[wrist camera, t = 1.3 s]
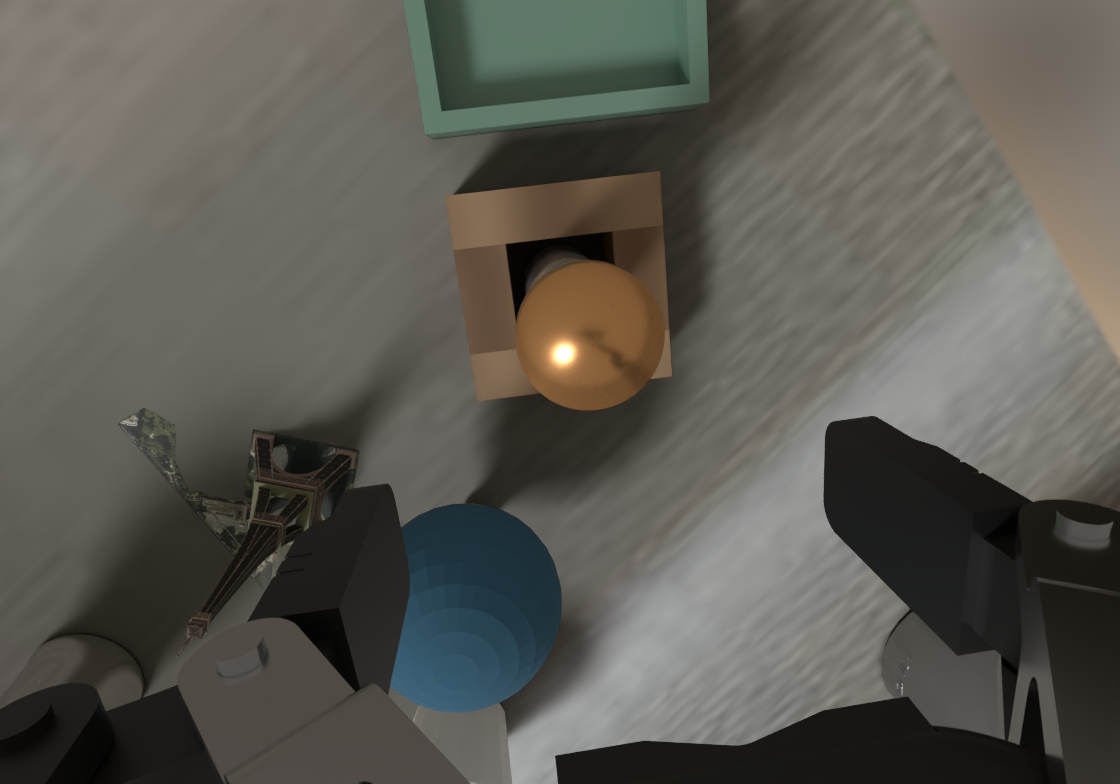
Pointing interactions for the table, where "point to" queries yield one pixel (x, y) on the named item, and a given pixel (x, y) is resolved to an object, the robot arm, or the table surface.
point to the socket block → (543, 213)
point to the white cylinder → (470, 741)
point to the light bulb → (474, 608)
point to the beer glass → (80, 670)
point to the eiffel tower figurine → (254, 501)
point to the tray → (554, 61)
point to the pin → (586, 330)
